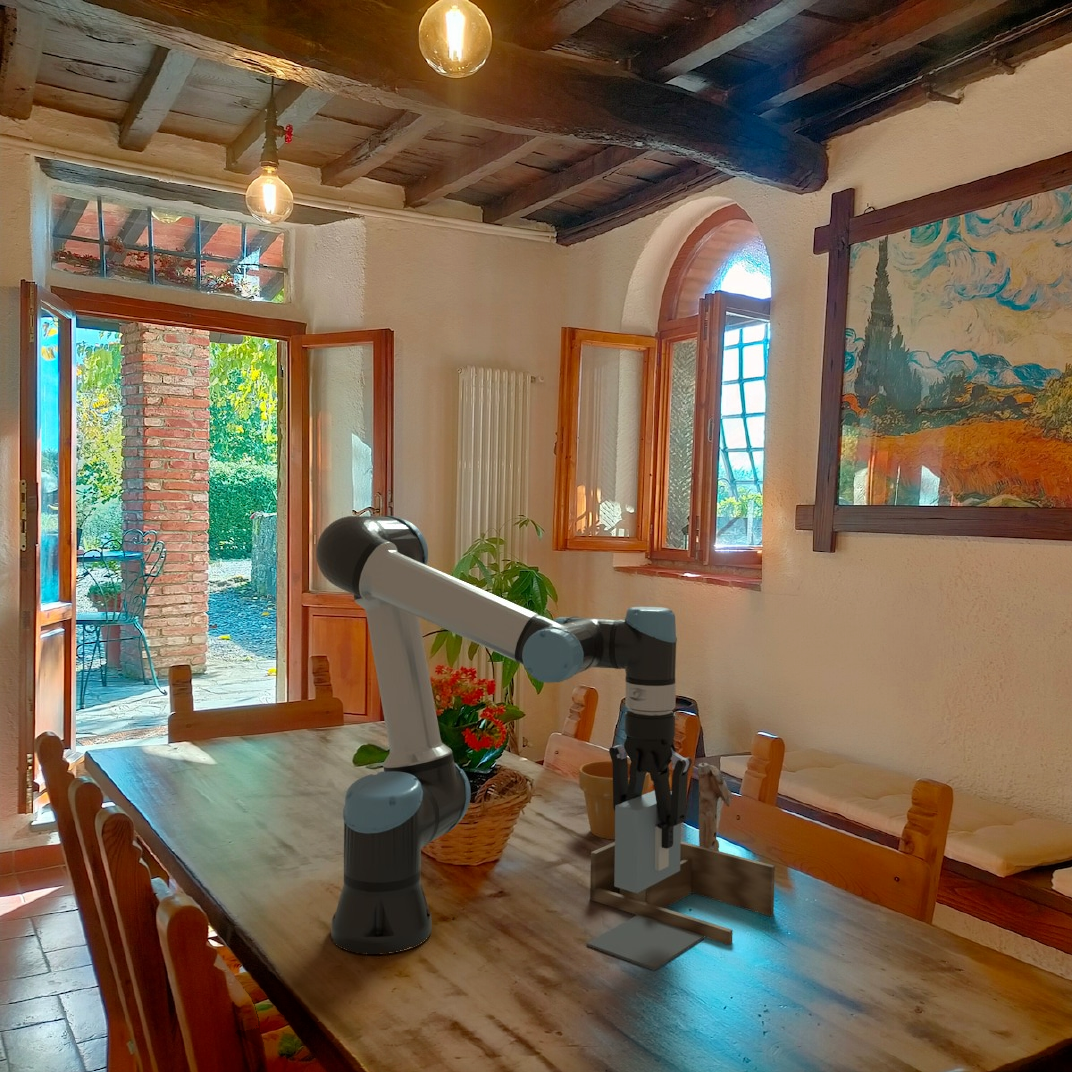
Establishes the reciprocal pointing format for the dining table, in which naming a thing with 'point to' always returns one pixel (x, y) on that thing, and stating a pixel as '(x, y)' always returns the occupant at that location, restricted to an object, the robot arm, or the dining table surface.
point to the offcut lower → (635, 894)
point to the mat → (645, 941)
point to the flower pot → (601, 796)
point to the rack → (690, 887)
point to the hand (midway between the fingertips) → (648, 864)
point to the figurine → (710, 803)
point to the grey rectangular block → (641, 845)
